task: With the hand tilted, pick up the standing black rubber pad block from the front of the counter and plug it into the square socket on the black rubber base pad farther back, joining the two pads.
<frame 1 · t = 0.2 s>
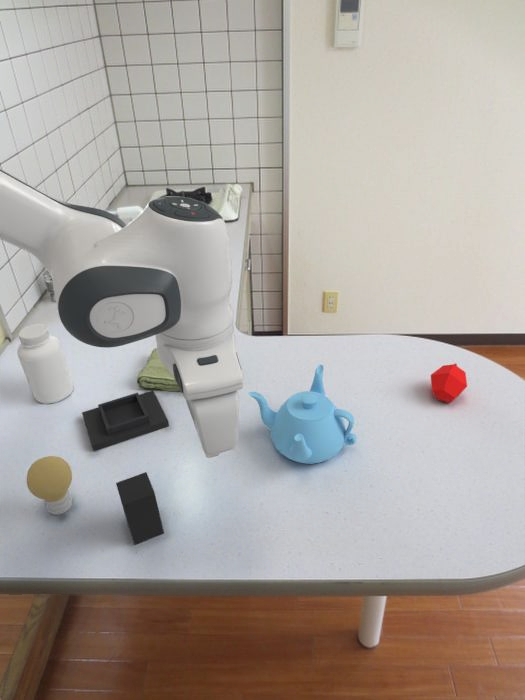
hand: (202, 427, 68), 20 cm above the table, tool pointing down, fingers open, 8 cm apart
light bulb: (61, 508, 83), on the table
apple: (446, 395, 102), on the table
washcloth: (185, 374, 111), on the table
base pad: (125, 422, 99), on the table
teapot: (302, 441, 93), on the table
pad block: (145, 527, 79), on the table
pill bottle: (54, 393, 108), on the table
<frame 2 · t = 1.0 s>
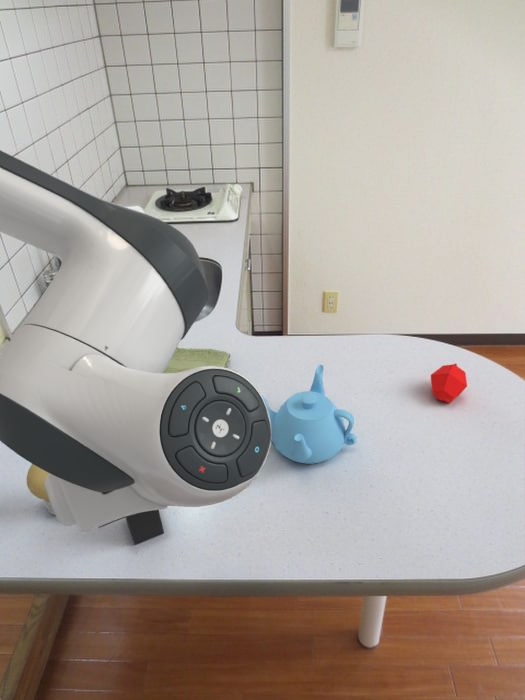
hand: (147, 461, 57), 25 cm above the table, tool tilted 45°, fingers open, 8 cm apart
nothing on the table moved.
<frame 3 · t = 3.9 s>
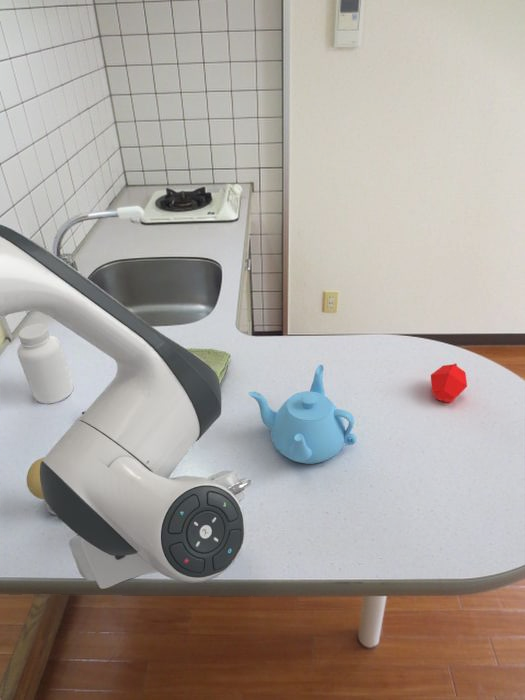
hand: (151, 515, 68), 11 cm above the table, tool tilted 45°, fingers open, 8 cm apart
nothing on the table moved.
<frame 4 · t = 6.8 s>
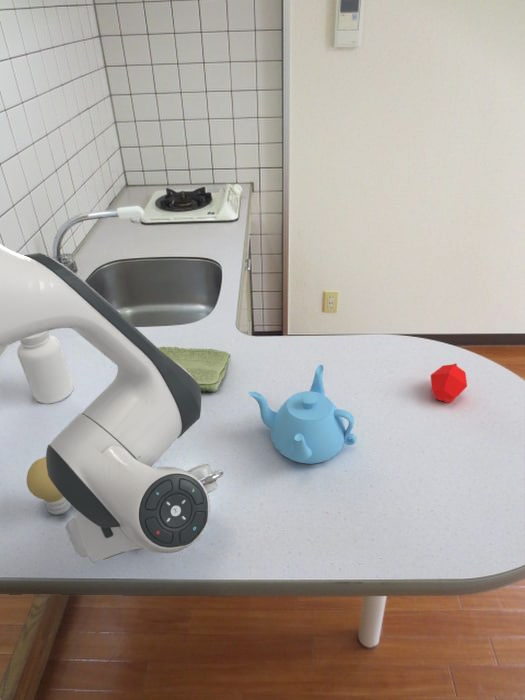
hand: (138, 503, 77), 5 cm above the table, tool tilted 45°, fingers closed on pad block, 4 cm apart
pad block: (145, 527, 79), on the table, touching gripper
everything else where it was.
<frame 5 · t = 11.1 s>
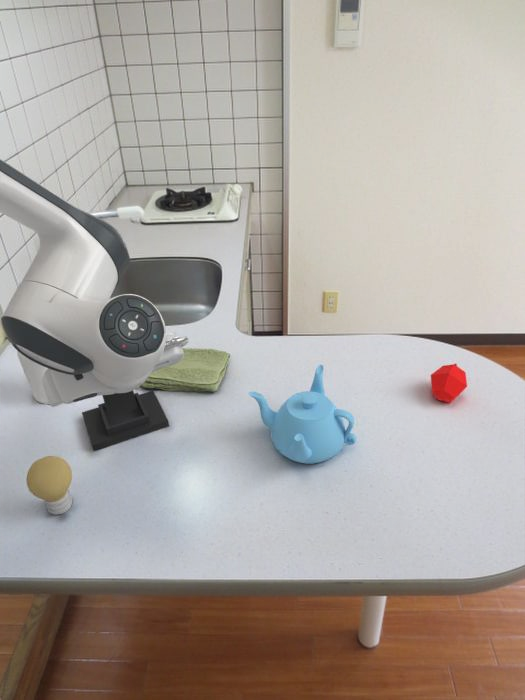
hand: (113, 379, 83), 16 cm above the table, tool tilted 45°, fingers closed on pad block, 4 cm apart
pad block: (120, 404, 86), point 12 cm above the table, touching gripper
everything else where it was.
when the fingers open (6 cm above the table, at t = 15.5 s): pad block stays where it is, resting on base pad.
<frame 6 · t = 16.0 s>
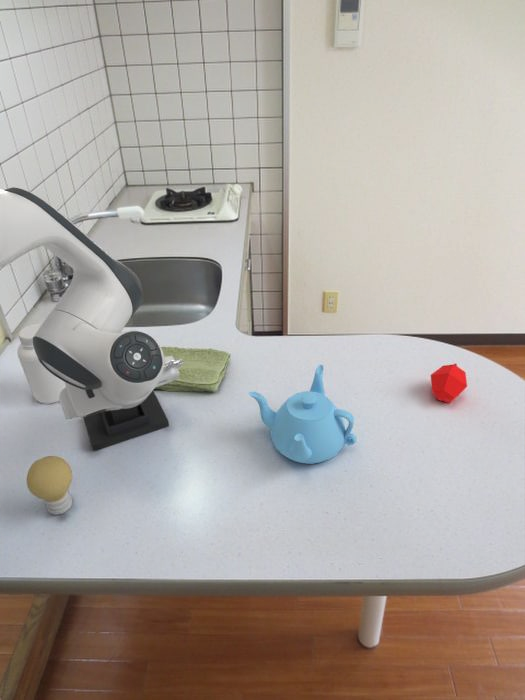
hand: (118, 394, 96), 6 cm above the table, tool tilted 45°, fingers open, 8 cm apart
pad block: (124, 416, 98), point 1 cm above the table, touching base pad
everything else where it was.
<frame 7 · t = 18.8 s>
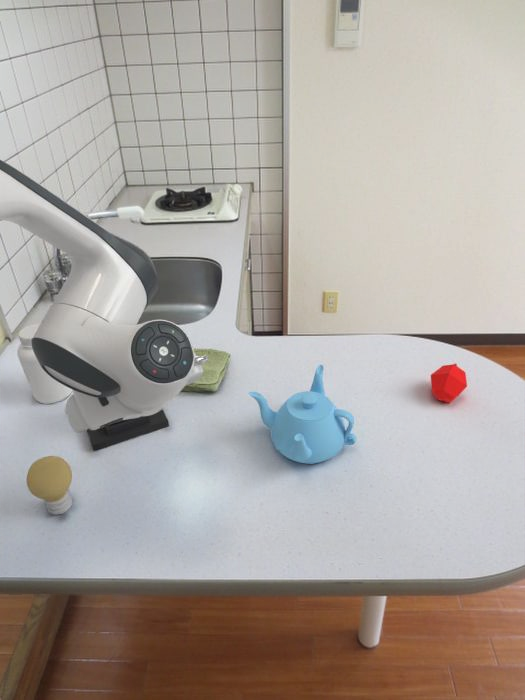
hand: (131, 400, 83), 14 cm above the table, tool tilted 45°, fingers open, 8 cm apart
nothing on the table moved.
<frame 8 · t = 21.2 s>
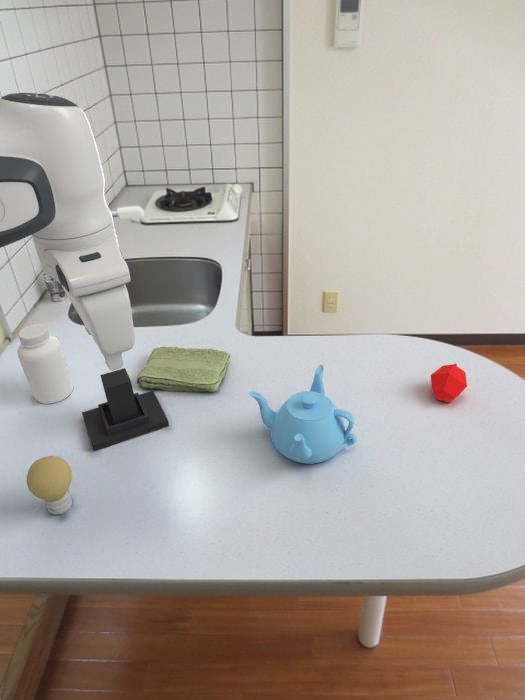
hand: (103, 348, 68), 29 cm above the table, tool pointing down, fingers open, 8 cm apart
nothing on the table moved.
at the end: pad block 0.1 cm off-centre on the base pad, point 1.5 cm above the base pad's base; pad block tilted 0°; the gripper is holding nothing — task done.
